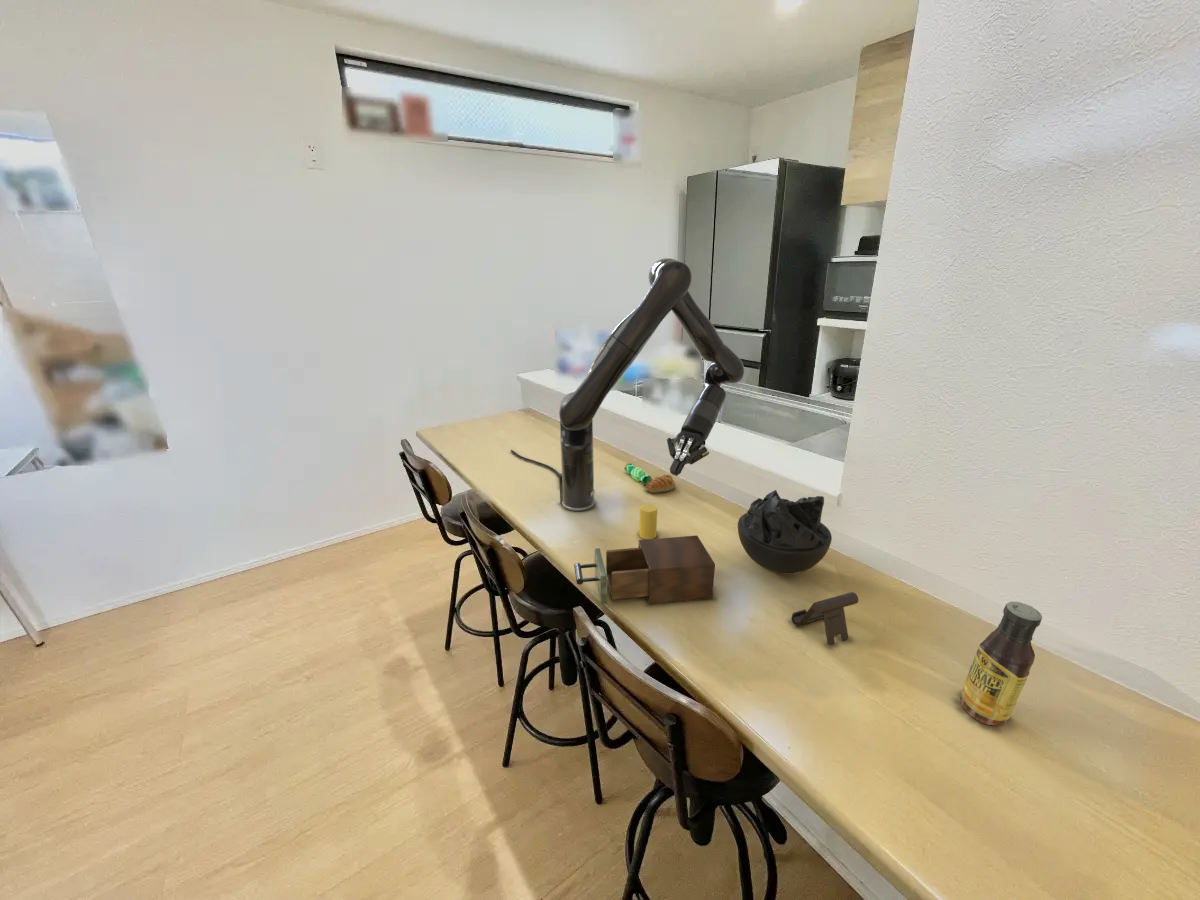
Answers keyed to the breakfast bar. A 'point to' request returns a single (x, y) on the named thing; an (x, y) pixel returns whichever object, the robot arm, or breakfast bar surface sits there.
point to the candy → (637, 474)
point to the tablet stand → (828, 615)
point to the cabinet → (678, 569)
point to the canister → (648, 521)
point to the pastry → (661, 484)
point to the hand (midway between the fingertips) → (673, 474)
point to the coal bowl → (785, 533)
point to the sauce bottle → (1001, 666)
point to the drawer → (618, 573)
